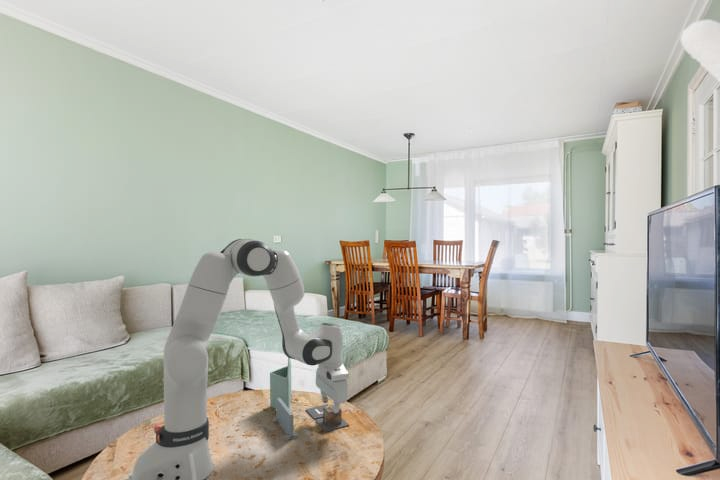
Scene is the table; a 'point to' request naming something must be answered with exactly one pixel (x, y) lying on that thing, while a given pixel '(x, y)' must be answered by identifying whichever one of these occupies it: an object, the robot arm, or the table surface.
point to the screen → (285, 419)
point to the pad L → (316, 411)
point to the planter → (281, 385)
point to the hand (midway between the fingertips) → (330, 407)
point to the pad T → (326, 428)
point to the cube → (331, 416)
